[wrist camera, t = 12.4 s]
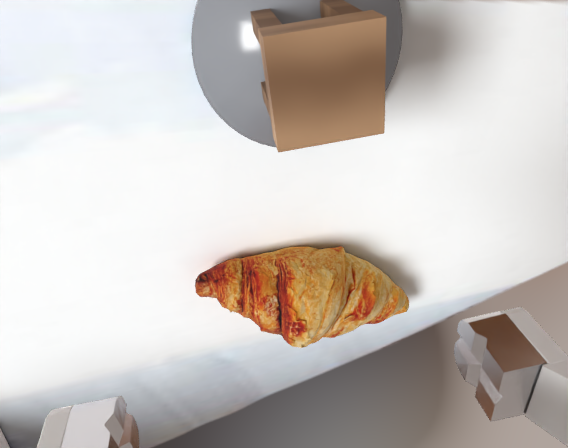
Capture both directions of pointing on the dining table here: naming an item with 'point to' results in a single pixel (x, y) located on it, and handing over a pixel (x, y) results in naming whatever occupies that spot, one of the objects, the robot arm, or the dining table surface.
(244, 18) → the grey flat disc
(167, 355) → the dining table surface
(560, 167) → the dining table surface
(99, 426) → the robot arm
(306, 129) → the stool
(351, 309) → the croissant
